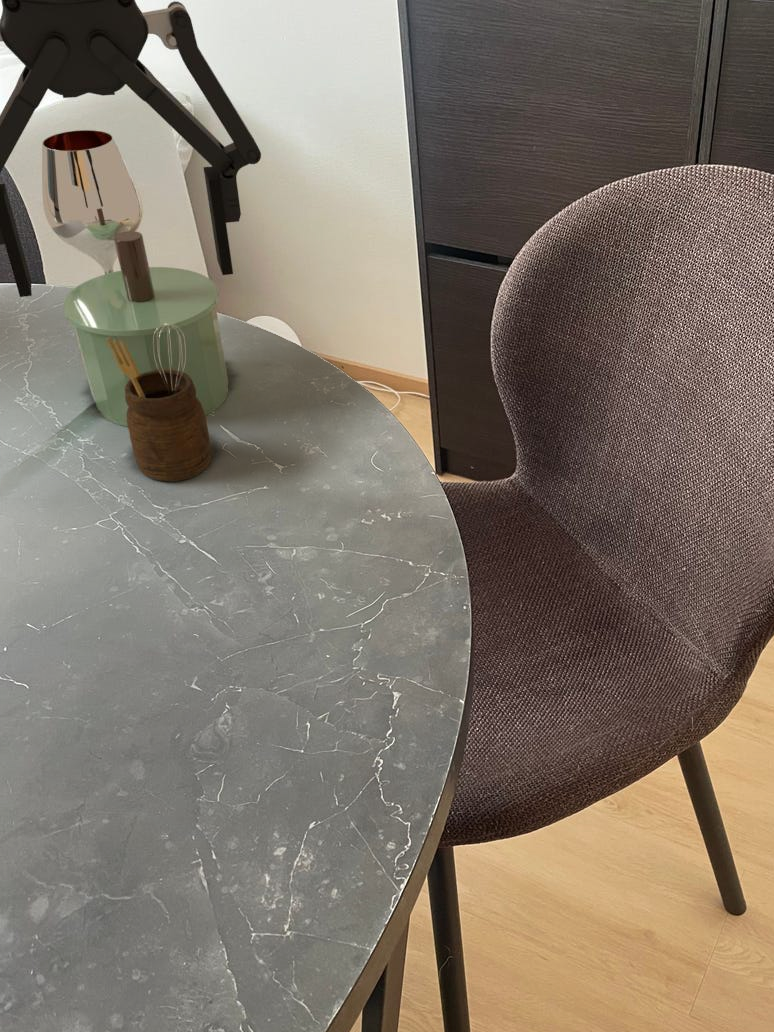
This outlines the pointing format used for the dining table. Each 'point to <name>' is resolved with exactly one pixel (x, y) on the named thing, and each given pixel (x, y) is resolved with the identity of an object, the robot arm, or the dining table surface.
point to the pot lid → (139, 295)
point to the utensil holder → (164, 419)
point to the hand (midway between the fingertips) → (127, 278)
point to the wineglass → (89, 193)
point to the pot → (200, 364)
